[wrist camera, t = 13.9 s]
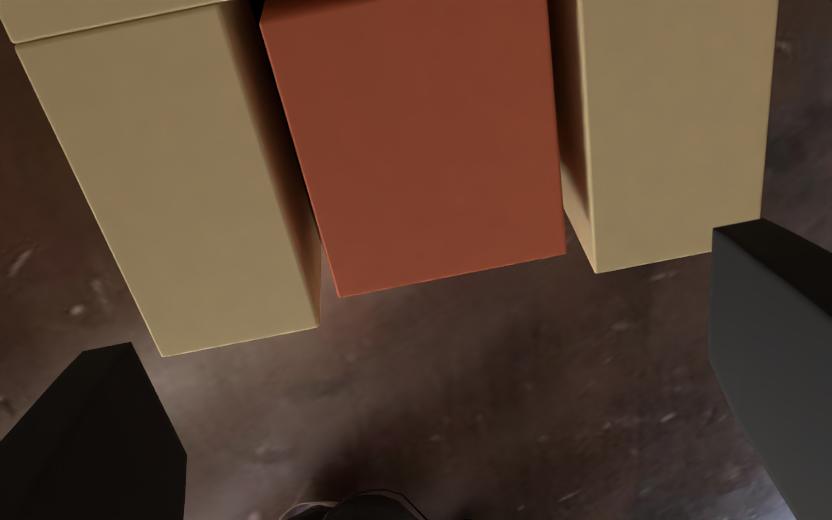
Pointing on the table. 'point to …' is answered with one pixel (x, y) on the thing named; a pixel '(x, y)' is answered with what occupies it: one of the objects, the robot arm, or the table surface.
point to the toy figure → (353, 509)
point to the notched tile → (279, 173)
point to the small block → (421, 133)
